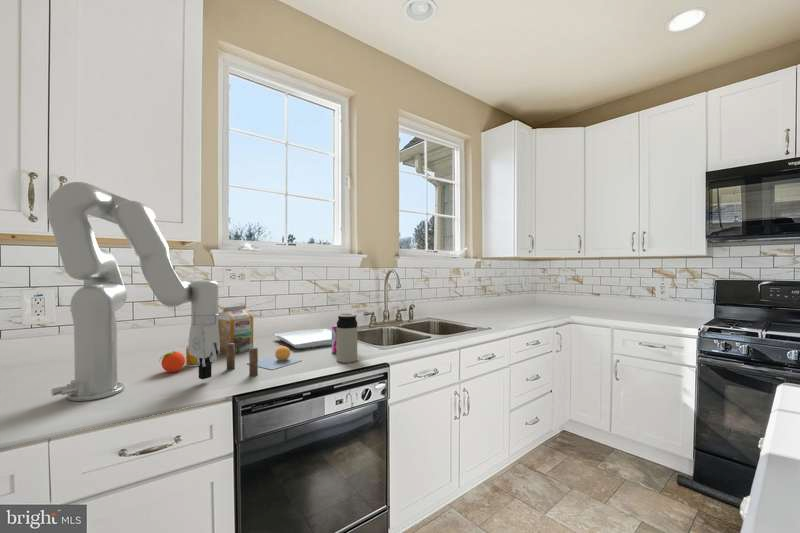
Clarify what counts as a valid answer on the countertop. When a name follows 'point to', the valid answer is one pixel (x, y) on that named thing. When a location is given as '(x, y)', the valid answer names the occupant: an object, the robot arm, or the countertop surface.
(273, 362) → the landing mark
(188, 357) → the supplement bottle
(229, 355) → the left post
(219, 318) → the milk carton
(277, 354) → the ball
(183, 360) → the tomato
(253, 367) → the right post
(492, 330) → the countertop surface
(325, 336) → the square plate
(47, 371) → the countertop surface
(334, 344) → the supplement box
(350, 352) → the travel mug
